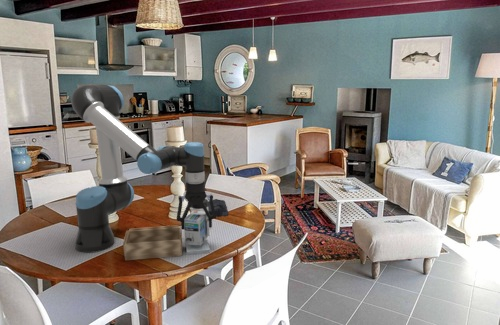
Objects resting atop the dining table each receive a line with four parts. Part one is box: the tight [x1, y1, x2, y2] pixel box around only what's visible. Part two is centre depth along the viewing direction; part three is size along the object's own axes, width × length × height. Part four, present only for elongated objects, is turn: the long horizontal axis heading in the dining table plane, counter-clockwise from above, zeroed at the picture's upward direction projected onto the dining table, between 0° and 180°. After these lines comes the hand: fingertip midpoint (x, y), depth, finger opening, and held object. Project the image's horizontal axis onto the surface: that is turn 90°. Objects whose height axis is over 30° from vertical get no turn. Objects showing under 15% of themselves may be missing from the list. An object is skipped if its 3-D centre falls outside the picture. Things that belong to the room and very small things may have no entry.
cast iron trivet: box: [208, 198, 229, 218], centre depth 204 cm, size 15×22×5 cm
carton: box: [122, 225, 184, 261], centre depth 154 cm, size 22×16×7 cm
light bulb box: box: [184, 211, 209, 245], centre depth 157 cm, size 11×7×11 cm, turn 169°
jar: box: [190, 198, 209, 213], centre depth 181 cm, size 9×8×12 cm
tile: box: [185, 237, 211, 256], centre depth 158 cm, size 9×14×1 cm, turn 12°
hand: (196, 235), depth 158 cm, fingers closed on light bulb box, 8 cm apart
